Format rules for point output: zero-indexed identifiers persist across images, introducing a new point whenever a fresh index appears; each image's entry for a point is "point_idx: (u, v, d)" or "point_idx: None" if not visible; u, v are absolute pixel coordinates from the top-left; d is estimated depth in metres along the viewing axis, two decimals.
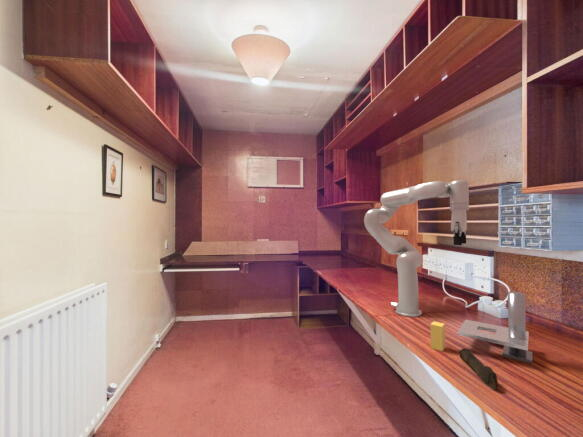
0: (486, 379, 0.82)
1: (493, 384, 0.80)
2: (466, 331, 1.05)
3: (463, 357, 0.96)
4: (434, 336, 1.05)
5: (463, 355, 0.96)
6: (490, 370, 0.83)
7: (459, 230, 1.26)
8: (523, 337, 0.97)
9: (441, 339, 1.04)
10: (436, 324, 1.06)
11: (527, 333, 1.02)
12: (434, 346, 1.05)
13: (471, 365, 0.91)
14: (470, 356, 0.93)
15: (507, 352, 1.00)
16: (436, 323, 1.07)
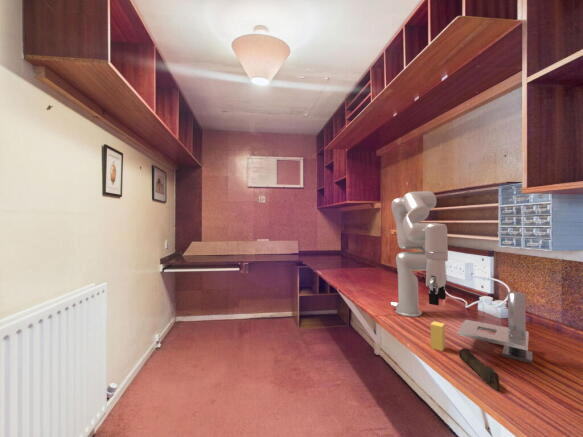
0: (488, 379, 0.82)
1: (495, 384, 0.80)
2: (466, 331, 1.05)
3: (463, 357, 0.96)
4: (434, 335, 1.05)
5: (463, 355, 0.96)
6: (492, 370, 0.82)
7: (435, 286, 1.02)
8: (523, 337, 0.97)
9: (441, 339, 1.04)
10: (436, 324, 1.06)
11: (527, 333, 1.02)
12: (434, 346, 1.05)
13: (472, 365, 0.90)
14: (470, 356, 0.93)
15: (507, 352, 1.00)
16: (436, 323, 1.07)
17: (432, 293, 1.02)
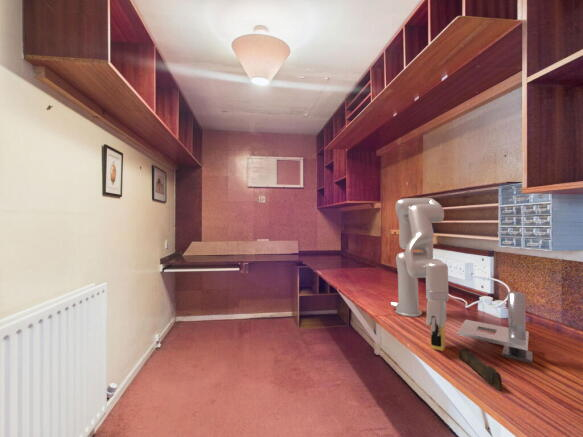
0: (490, 379, 0.82)
1: (497, 384, 0.80)
2: (466, 331, 1.05)
3: (463, 357, 0.96)
4: None
5: (463, 355, 0.96)
6: (494, 370, 0.82)
7: (437, 328, 1.03)
8: (523, 337, 0.97)
9: (441, 339, 1.04)
10: None
11: (527, 333, 1.02)
12: (434, 346, 1.05)
13: (472, 365, 0.90)
14: (471, 356, 0.93)
15: (507, 352, 1.00)
16: None
17: (435, 335, 1.04)
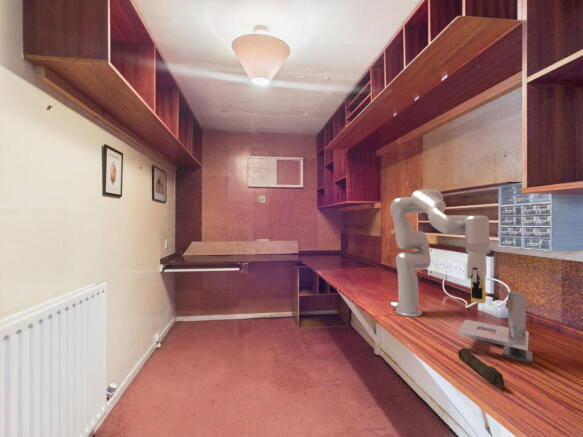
0: (492, 380, 0.82)
1: (499, 384, 0.80)
2: (466, 331, 1.05)
3: (463, 357, 0.96)
4: None
5: (463, 355, 0.96)
6: (495, 370, 0.82)
7: (478, 280, 1.03)
8: (523, 337, 0.97)
9: (482, 291, 1.03)
10: None
11: (527, 333, 1.02)
12: (475, 299, 1.05)
13: (473, 365, 0.90)
14: (471, 356, 0.92)
15: (507, 352, 1.00)
16: None
17: (476, 288, 1.03)
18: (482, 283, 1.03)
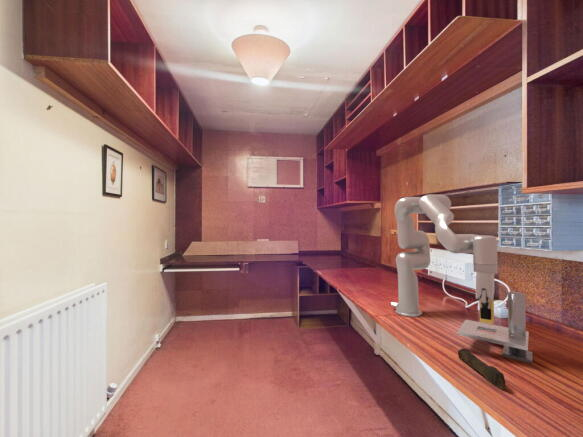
0: (493, 380, 0.82)
1: (501, 384, 0.80)
2: (466, 331, 1.05)
3: (463, 357, 0.96)
4: None
5: (463, 355, 0.96)
6: (496, 370, 0.82)
7: (487, 301, 1.02)
8: (523, 337, 0.97)
9: (491, 312, 1.03)
10: None
11: (527, 333, 1.02)
12: (483, 319, 1.04)
13: (473, 365, 0.90)
14: (471, 356, 0.92)
15: (507, 352, 1.00)
16: None
17: (484, 308, 1.03)
18: (491, 304, 1.03)
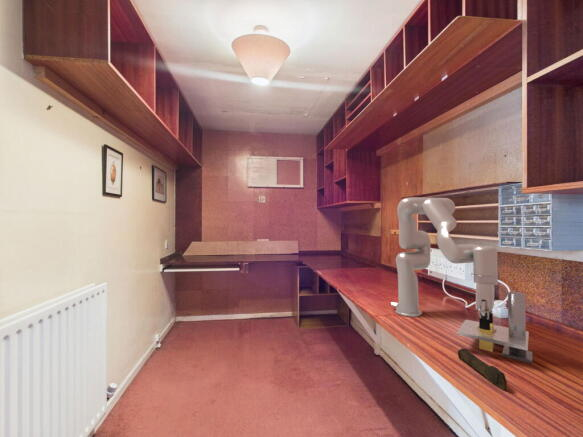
0: (494, 379, 0.82)
1: (502, 384, 0.80)
2: (466, 331, 1.05)
3: (463, 357, 0.95)
4: None
5: (463, 355, 0.96)
6: (497, 370, 0.82)
7: (486, 311, 1.02)
8: (523, 337, 0.97)
9: None
10: None
11: (527, 333, 1.02)
12: (483, 346, 1.04)
13: (474, 365, 0.90)
14: (471, 356, 0.92)
15: (507, 352, 1.00)
16: None
17: (483, 318, 1.01)
18: (491, 331, 1.03)
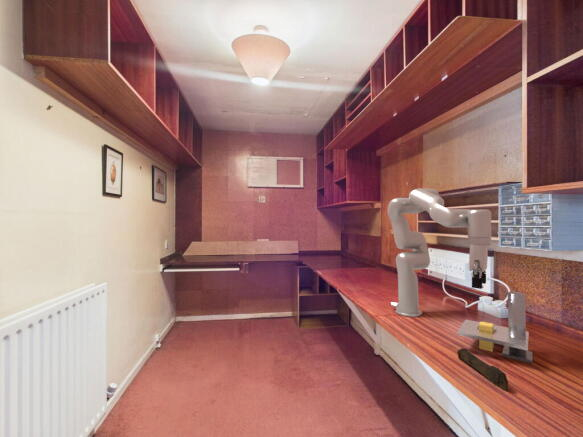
0: (495, 379, 0.82)
1: (504, 384, 0.80)
2: (466, 331, 1.05)
3: (463, 357, 0.95)
4: None
5: (463, 355, 0.95)
6: (498, 370, 0.82)
7: (479, 270, 1.05)
8: (523, 337, 0.97)
9: None
10: (485, 325, 1.05)
11: (527, 333, 1.02)
12: (483, 346, 1.04)
13: (474, 365, 0.90)
14: (471, 356, 0.92)
15: (507, 352, 1.00)
16: (484, 323, 1.06)
17: (476, 277, 1.04)
18: (491, 331, 1.03)
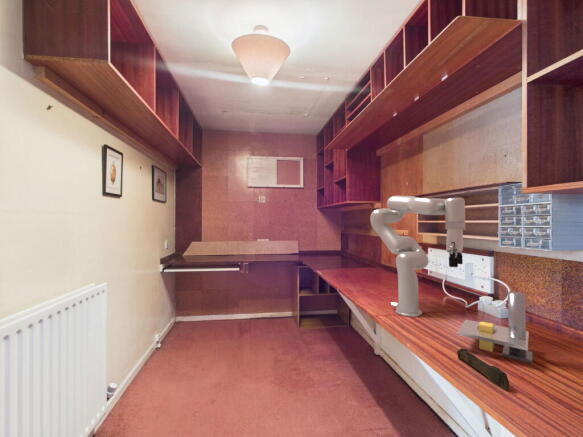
0: (496, 380, 0.82)
1: (505, 384, 0.80)
2: (466, 331, 1.05)
3: (462, 358, 0.95)
4: None
5: (462, 355, 0.95)
6: (499, 370, 0.82)
7: (455, 251, 1.18)
8: (523, 337, 0.97)
9: None
10: (485, 325, 1.05)
11: (527, 333, 1.02)
12: (483, 346, 1.04)
13: (474, 366, 0.90)
14: (471, 356, 0.92)
15: (507, 352, 1.00)
16: (484, 323, 1.06)
17: (452, 257, 1.18)
18: (491, 331, 1.03)
